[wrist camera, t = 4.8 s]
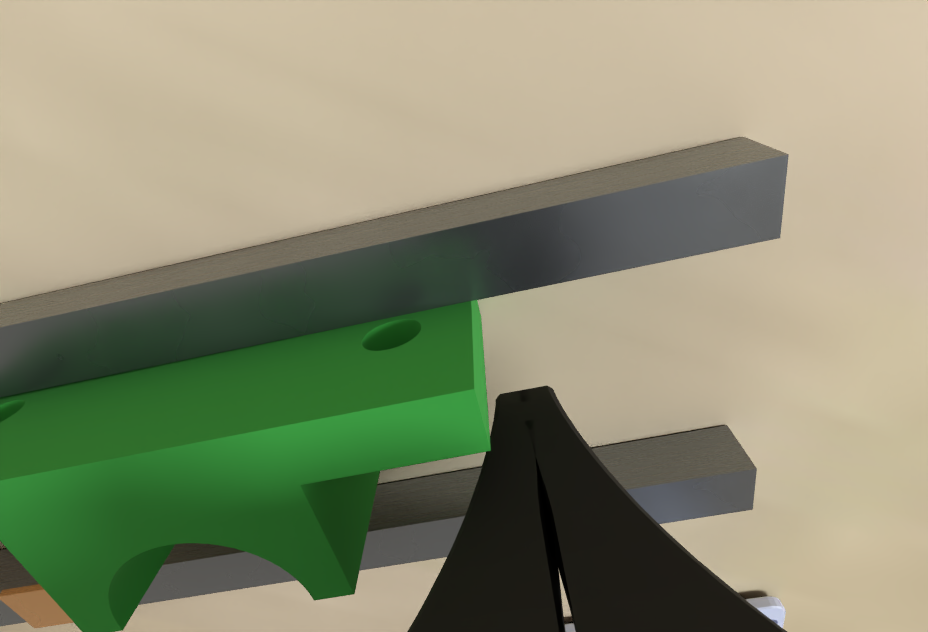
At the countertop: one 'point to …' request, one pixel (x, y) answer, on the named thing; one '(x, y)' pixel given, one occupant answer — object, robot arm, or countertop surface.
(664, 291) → the countertop surface
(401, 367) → the pipe clamp
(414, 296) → the guide track
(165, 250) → the countertop surface
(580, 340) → the countertop surface
